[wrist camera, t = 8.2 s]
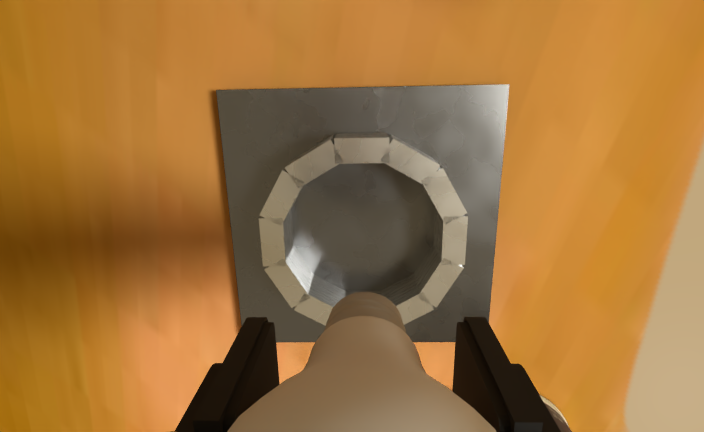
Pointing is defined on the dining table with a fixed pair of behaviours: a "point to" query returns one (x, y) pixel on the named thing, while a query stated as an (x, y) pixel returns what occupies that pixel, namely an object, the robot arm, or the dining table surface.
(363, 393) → the lightbulb
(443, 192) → the ring collar
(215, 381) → the robot arm
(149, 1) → the dining table surface
